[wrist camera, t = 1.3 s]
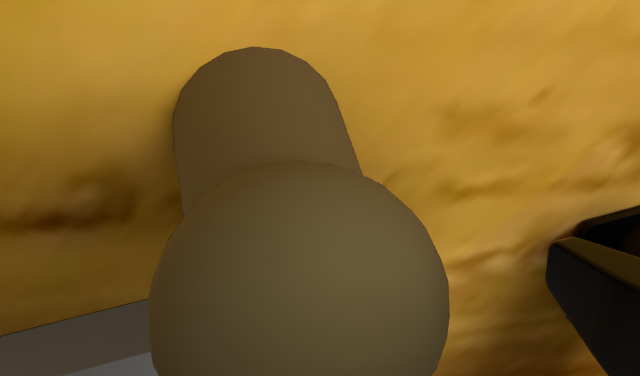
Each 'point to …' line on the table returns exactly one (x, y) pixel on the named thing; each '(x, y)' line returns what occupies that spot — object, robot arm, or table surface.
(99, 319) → the socket plate
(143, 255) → the table surface
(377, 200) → the brown pawn
